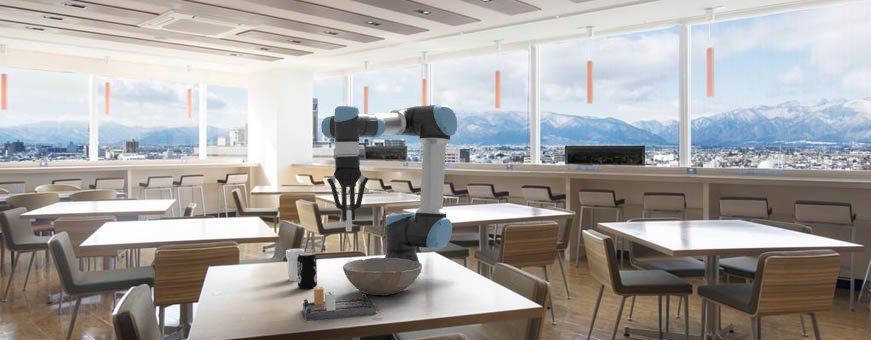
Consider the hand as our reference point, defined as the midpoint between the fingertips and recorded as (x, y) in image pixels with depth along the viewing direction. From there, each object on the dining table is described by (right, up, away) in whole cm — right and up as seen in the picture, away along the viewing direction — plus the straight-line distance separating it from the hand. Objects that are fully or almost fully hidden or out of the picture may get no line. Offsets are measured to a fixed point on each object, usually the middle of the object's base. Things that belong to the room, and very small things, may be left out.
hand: (348, 230), depth 187 cm
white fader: (-3, -21, -16) cm, 26 cm away
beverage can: (-17, -22, +21) cm, 35 cm away
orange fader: (-8, -21, -9) cm, 24 cm away
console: (-1, -23, -11) cm, 25 cm away
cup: (-25, -22, +35) cm, 48 cm away
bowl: (+10, -22, +11) cm, 27 cm away
